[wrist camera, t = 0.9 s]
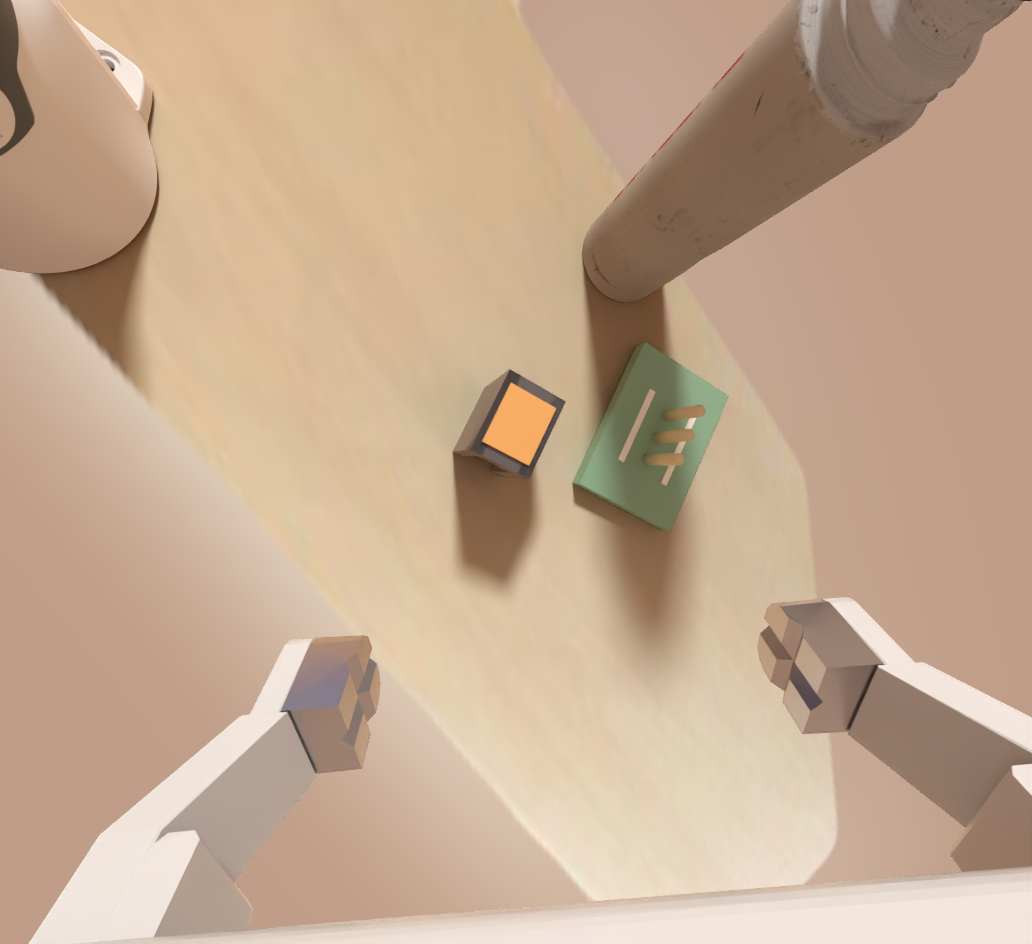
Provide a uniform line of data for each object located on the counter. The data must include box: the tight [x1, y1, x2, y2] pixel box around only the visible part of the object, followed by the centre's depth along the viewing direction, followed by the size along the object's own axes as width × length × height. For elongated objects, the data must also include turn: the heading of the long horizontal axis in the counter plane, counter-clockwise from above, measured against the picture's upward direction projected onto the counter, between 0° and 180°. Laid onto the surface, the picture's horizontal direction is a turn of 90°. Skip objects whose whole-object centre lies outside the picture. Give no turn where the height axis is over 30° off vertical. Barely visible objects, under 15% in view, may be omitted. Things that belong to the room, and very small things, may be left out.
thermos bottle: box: [583, 0, 1031, 302], centre depth 29 cm, size 8×8×28 cm
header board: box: [573, 342, 729, 531], centre depth 40 cm, size 14×10×6 cm
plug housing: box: [453, 370, 566, 479], centre depth 35 cm, size 6×4×8 cm
